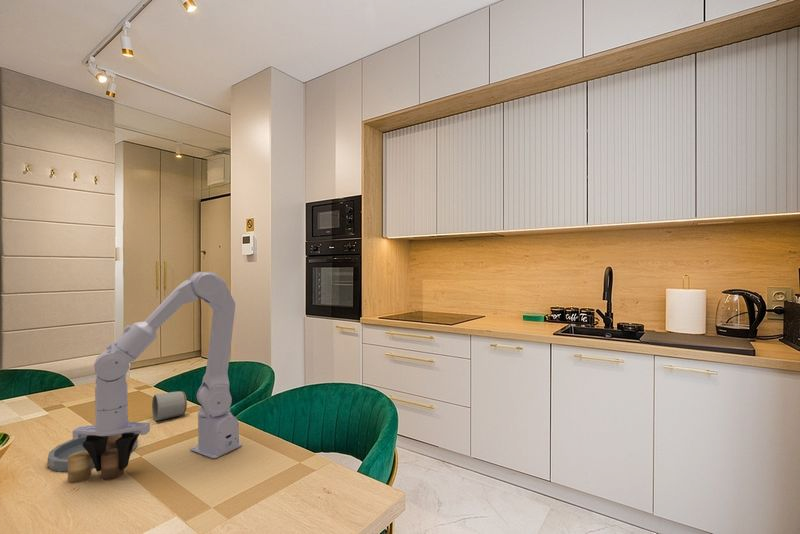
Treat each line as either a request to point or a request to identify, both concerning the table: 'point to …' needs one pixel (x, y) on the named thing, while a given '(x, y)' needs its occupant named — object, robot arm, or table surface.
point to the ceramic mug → (168, 405)
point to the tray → (62, 451)
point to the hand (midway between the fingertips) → (112, 468)
